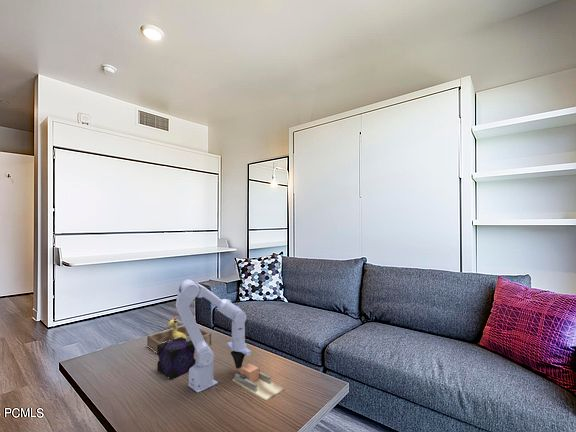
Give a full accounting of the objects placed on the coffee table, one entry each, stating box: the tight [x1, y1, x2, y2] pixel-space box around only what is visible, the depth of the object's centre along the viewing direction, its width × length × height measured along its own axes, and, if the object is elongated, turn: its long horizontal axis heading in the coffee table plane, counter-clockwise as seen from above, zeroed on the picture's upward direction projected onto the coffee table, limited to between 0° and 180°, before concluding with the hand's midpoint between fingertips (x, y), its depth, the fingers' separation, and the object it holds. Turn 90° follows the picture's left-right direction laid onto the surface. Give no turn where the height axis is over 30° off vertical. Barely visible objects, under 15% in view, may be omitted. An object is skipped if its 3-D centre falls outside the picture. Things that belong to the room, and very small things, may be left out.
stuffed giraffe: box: [166, 316, 191, 343], centre depth 163 cm, size 16×18×16 cm
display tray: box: [146, 325, 212, 352], centre depth 163 cm, size 25×23×6 cm
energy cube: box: [156, 337, 196, 380], centre depth 137 cm, size 12×12×12 cm
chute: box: [231, 369, 285, 402], centre depth 123 cm, size 10×21×4 cm, turn 48°
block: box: [240, 363, 260, 382], centre depth 127 cm, size 5×6×5 cm
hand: (238, 367), depth 132 cm, fingers closed
